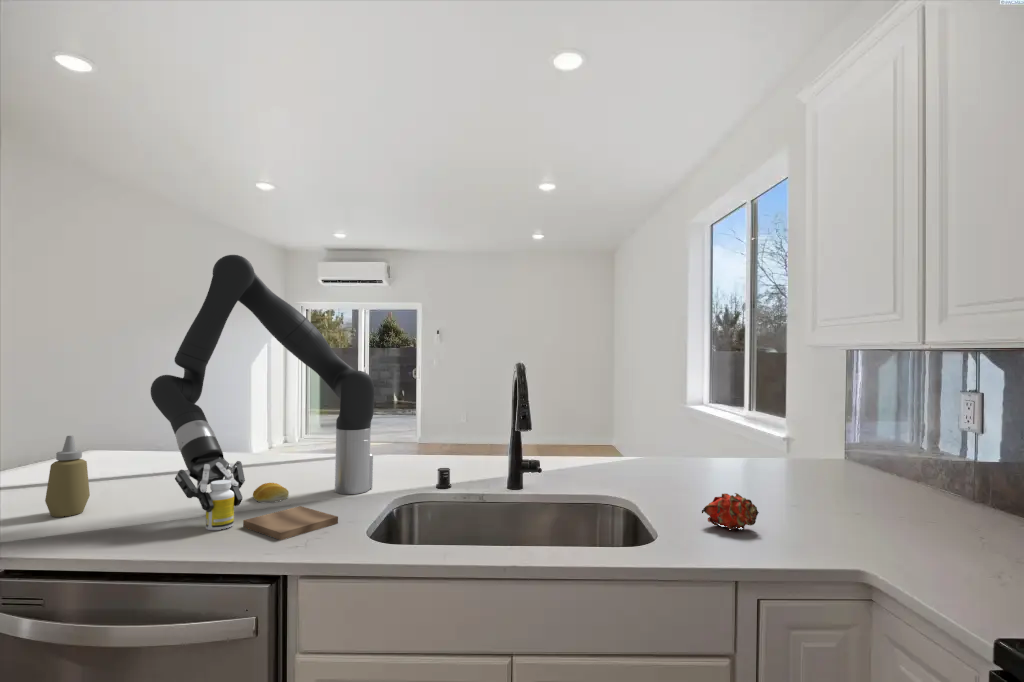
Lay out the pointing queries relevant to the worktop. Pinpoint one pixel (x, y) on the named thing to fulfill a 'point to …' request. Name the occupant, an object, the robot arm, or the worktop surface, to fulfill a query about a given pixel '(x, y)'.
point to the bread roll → (270, 493)
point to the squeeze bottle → (67, 482)
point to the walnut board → (290, 522)
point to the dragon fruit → (731, 511)
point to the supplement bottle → (221, 506)
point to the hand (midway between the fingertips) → (224, 506)
